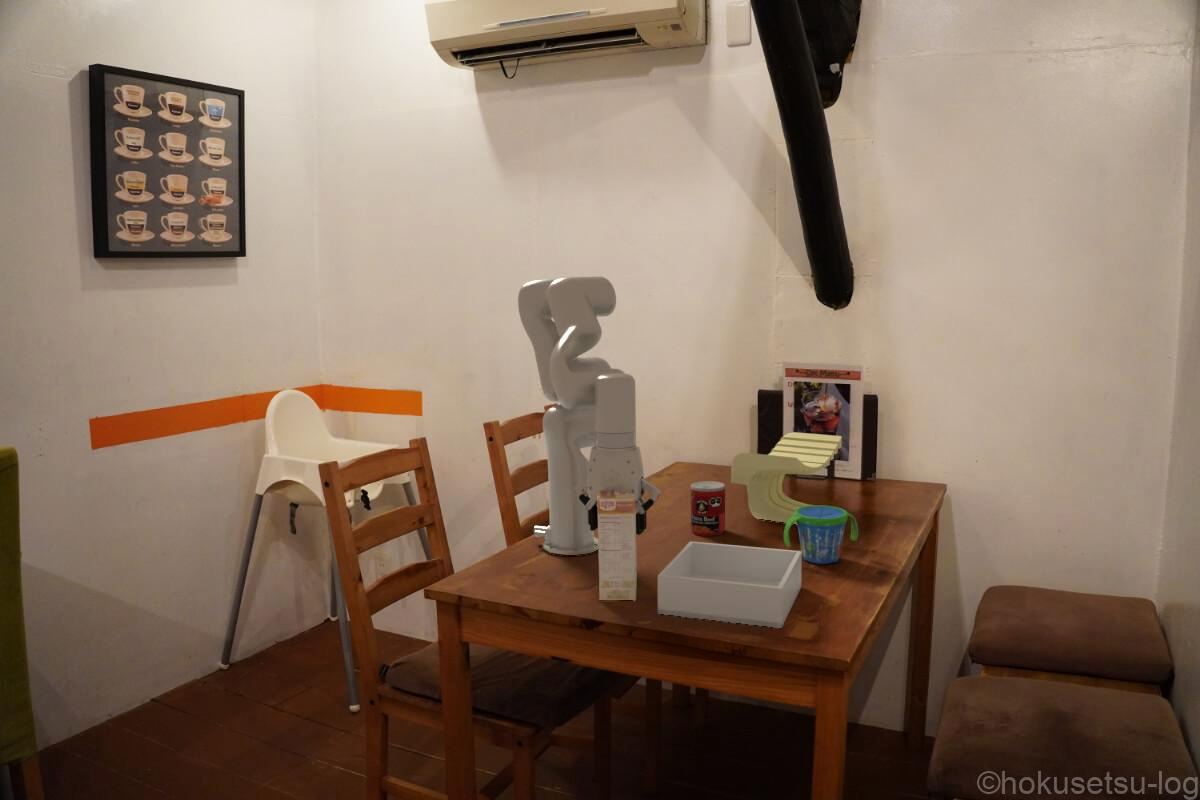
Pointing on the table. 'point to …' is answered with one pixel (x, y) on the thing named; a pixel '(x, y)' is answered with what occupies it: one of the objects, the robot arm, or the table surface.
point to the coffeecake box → (617, 546)
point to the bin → (731, 584)
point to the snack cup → (821, 532)
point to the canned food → (707, 508)
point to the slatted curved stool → (781, 472)
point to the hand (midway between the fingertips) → (617, 530)
